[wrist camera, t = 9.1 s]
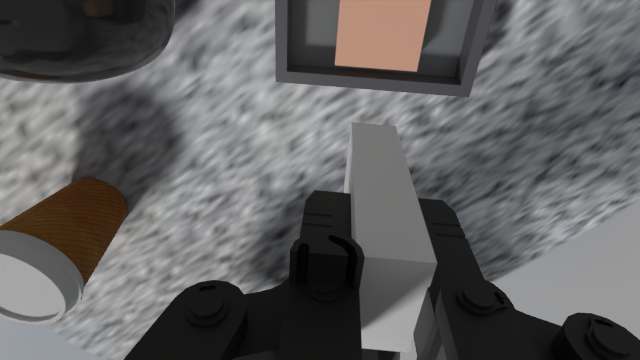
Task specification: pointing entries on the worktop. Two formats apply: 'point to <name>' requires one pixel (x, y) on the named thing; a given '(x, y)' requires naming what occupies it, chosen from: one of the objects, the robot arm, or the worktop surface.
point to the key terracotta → (381, 33)
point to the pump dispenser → (81, 38)
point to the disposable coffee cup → (56, 250)
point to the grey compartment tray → (431, 77)
